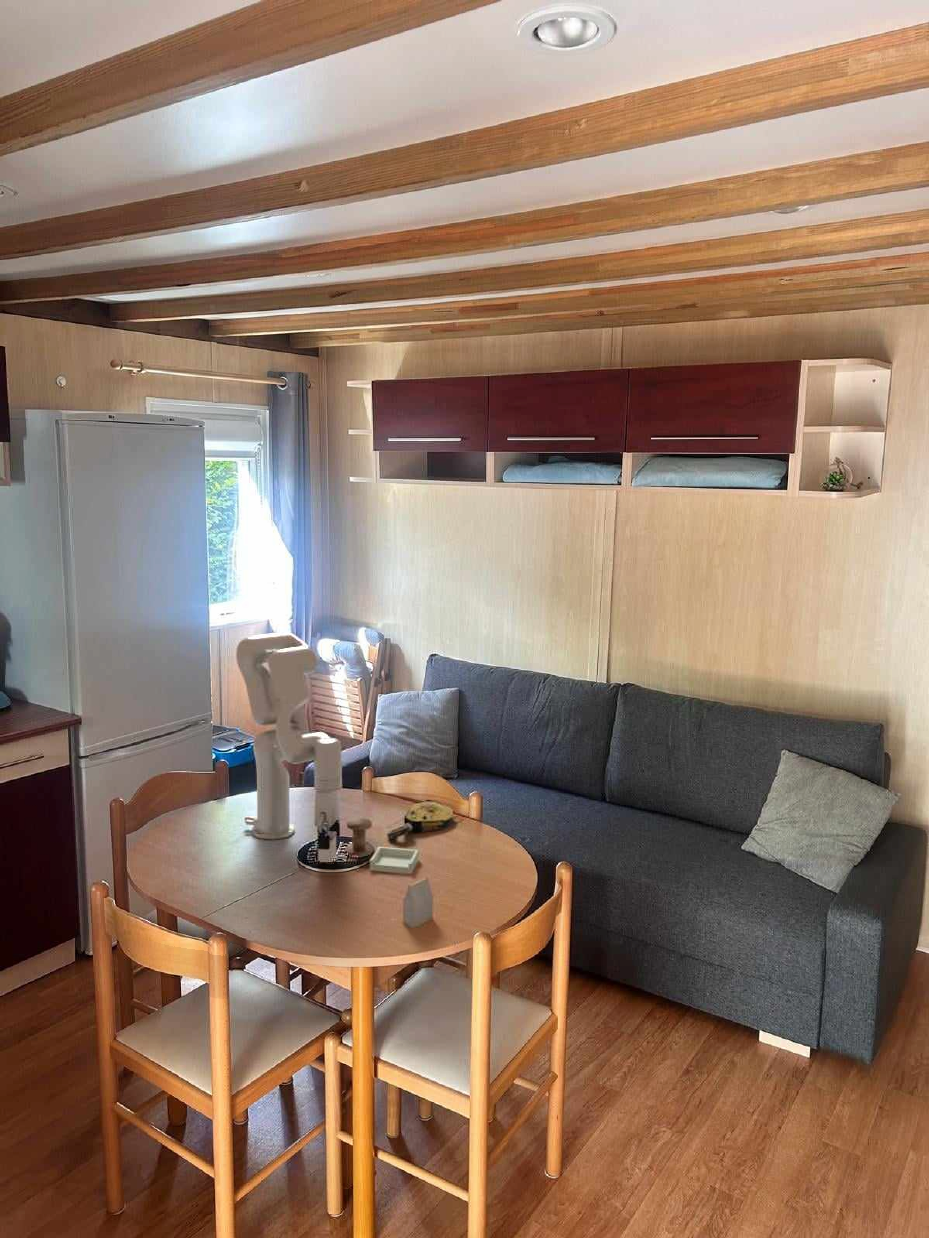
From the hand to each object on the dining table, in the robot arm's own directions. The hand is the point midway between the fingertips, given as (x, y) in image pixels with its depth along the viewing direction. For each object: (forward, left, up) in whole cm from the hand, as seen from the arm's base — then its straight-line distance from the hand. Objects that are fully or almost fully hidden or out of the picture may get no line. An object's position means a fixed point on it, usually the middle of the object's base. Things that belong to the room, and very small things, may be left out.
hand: (329, 842), depth 263 cm
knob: (+6, +9, -6) cm, 12 cm away
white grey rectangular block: (-1, +1, -6) cm, 6 cm away
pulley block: (+19, +31, -6) cm, 37 cm away
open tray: (+18, +2, -6) cm, 19 cm away
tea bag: (+31, -28, -6) cm, 43 cm away
